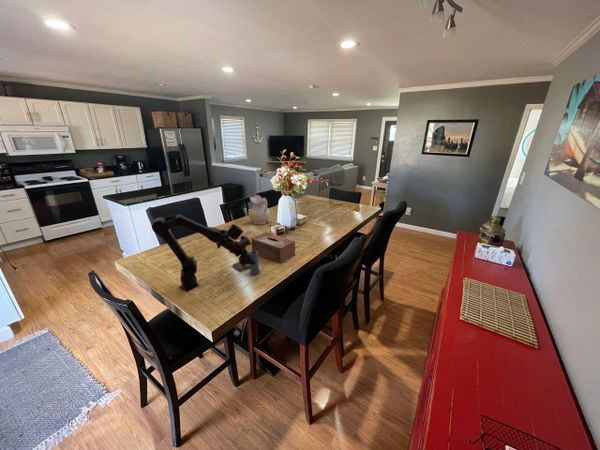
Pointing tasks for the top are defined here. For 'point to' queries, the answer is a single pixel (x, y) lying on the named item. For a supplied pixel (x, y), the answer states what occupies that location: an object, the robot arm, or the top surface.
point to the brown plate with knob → (241, 266)
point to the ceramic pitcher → (259, 210)
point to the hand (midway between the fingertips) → (253, 259)
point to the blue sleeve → (255, 258)
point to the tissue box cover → (273, 246)
